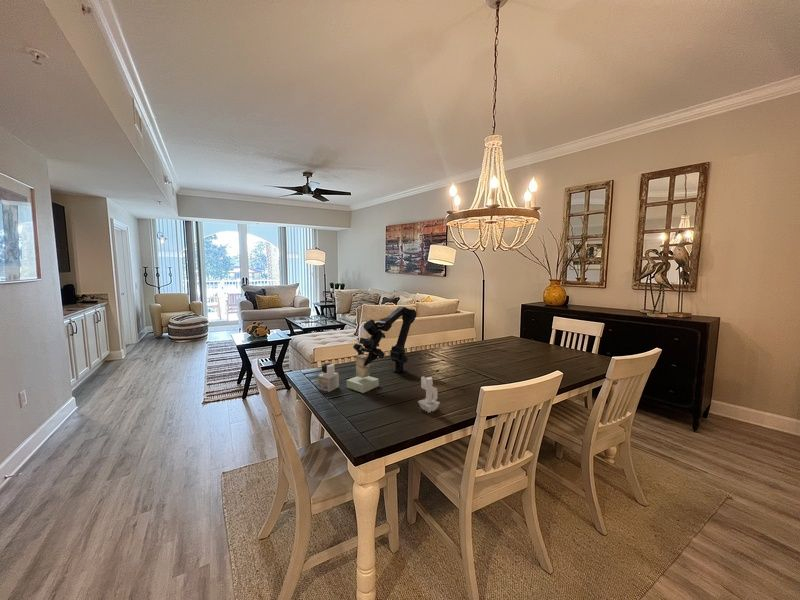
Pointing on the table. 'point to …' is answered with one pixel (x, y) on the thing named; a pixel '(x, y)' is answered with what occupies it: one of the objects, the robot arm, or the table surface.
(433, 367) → the table surface
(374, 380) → the sage base block
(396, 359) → the robot arm
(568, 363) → the table surface
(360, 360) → the maple block
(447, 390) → the table surface
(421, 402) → the figurine
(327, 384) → the container
